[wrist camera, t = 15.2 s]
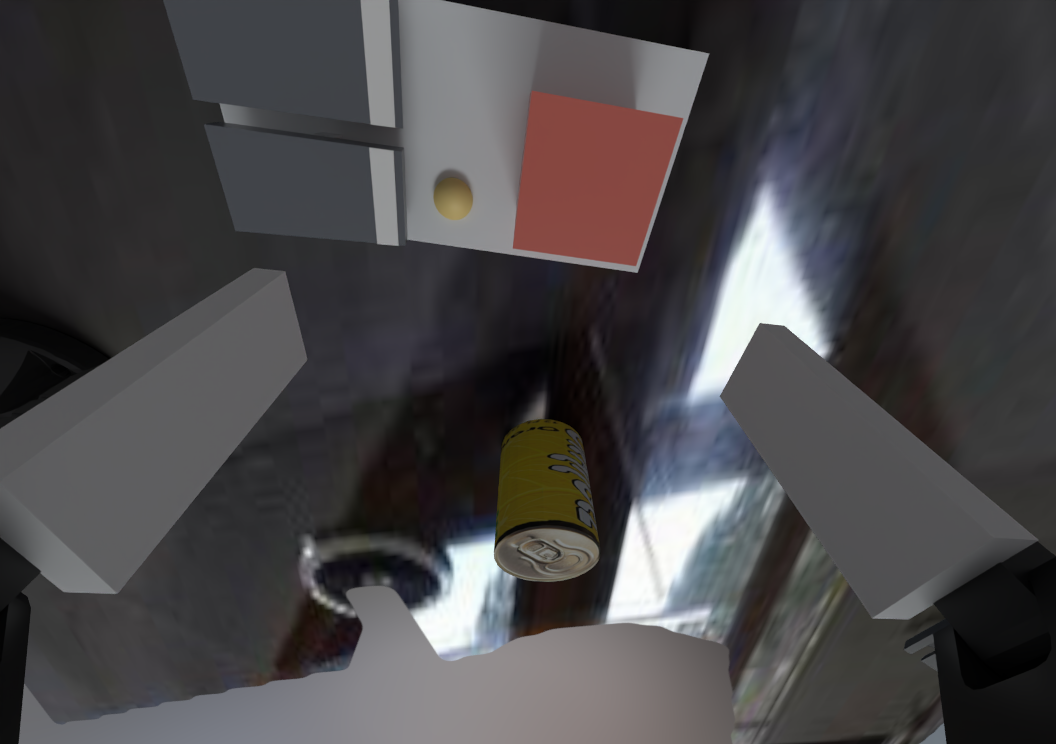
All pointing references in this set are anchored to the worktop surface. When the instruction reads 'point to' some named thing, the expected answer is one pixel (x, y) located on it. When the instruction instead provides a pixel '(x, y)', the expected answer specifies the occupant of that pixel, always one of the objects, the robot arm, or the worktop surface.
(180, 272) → the worktop surface
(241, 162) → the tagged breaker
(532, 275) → the worktop surface
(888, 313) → the worktop surface
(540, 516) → the beverage can
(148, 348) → the robot arm
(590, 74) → the panel
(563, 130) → the red rectangular block
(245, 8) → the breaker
